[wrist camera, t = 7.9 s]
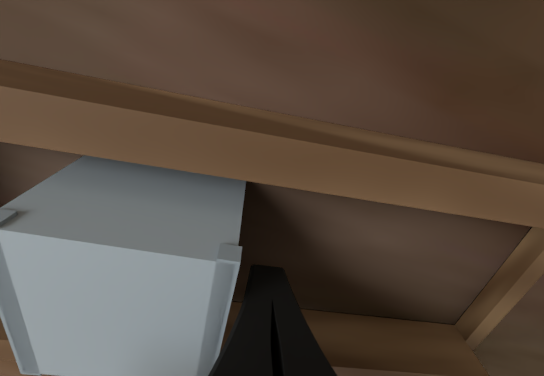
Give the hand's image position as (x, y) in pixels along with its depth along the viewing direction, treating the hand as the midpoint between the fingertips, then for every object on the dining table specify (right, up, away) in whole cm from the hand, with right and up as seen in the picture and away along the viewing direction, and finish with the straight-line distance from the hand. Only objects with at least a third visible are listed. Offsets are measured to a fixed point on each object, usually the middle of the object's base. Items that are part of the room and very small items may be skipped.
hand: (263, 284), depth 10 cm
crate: (-4, +2, +2) cm, 5 cm away
